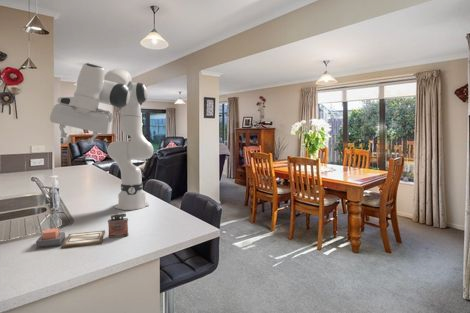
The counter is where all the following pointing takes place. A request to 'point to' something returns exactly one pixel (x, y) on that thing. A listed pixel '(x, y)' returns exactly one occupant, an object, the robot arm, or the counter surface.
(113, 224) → the lighter
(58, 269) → the counter surface
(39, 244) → the button housing
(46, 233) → the button
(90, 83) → the robot arm
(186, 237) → the counter surface
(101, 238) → the board
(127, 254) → the counter surface
